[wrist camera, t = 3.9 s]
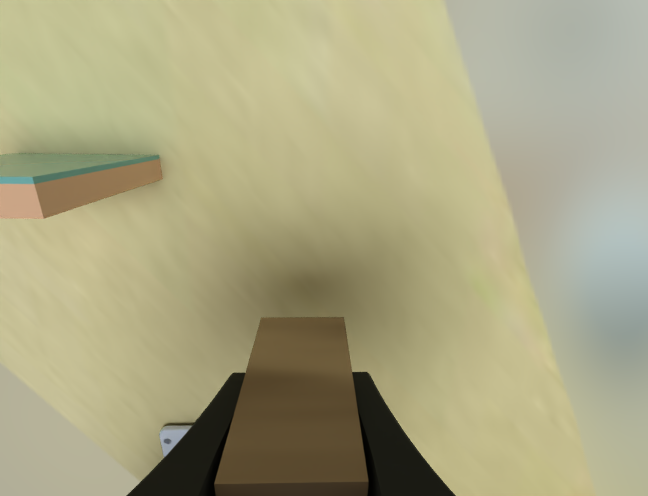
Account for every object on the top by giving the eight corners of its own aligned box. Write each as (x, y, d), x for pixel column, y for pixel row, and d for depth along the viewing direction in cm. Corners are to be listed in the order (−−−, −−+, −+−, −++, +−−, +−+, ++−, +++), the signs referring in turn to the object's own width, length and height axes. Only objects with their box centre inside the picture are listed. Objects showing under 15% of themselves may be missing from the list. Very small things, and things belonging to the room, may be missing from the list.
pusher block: (341, 383, 13) (361, 573, 8) (265, 383, 13) (227, 577, 7) (343, 317, 12) (368, 481, 7) (261, 317, 12) (213, 484, 6)
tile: (162, 178, 17) (43, 218, 10) (24, 177, 17) (-206, 216, 10) (158, 154, 17) (32, 176, 9) (17, 153, 17) (-229, 174, 9)
